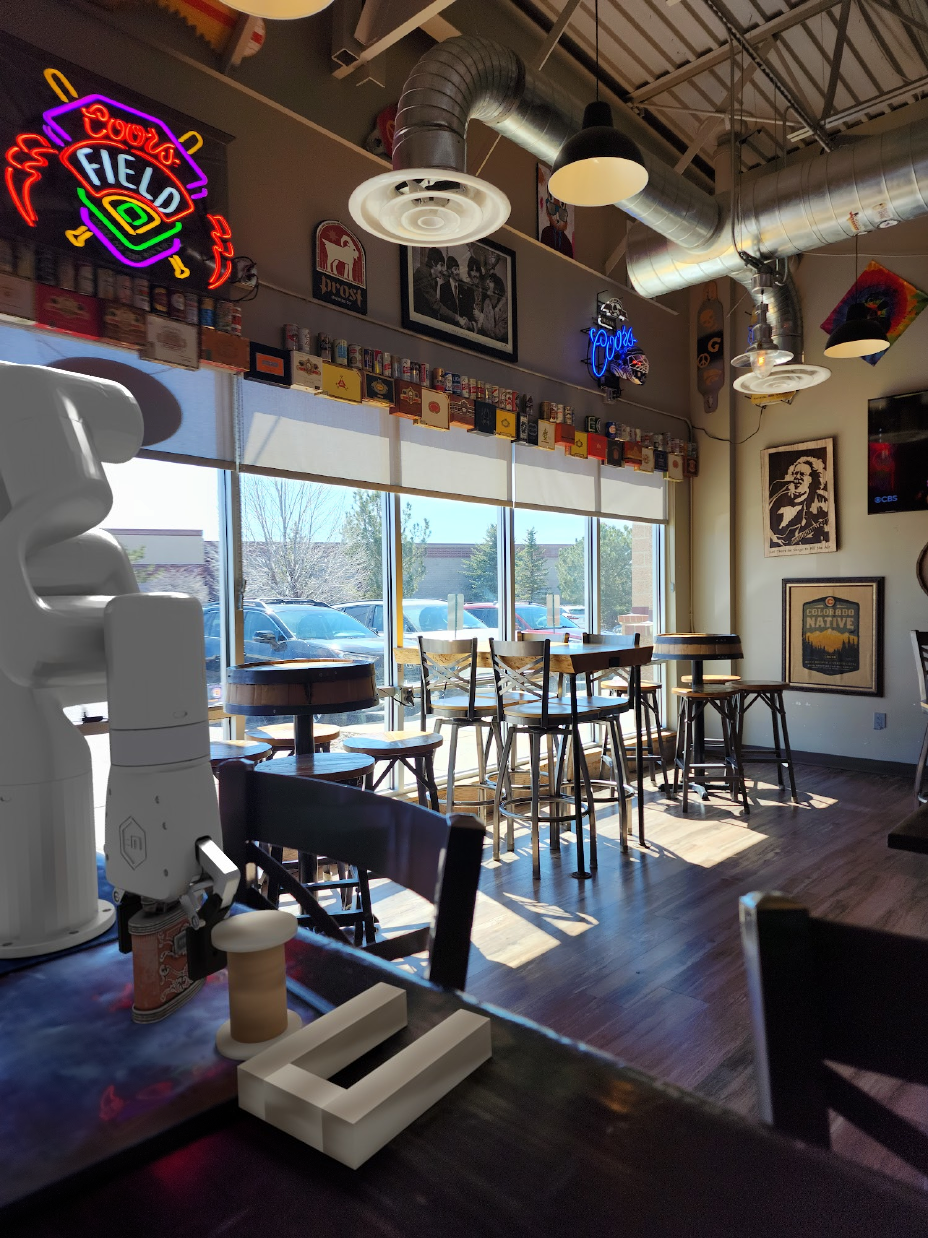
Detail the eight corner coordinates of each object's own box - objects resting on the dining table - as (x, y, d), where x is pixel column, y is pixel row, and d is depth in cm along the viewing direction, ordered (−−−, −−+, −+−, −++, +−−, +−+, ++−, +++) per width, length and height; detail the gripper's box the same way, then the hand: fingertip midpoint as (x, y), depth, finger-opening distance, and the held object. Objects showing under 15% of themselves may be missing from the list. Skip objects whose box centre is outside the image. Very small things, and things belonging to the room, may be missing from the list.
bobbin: (198, 1043, 56) (193, 932, 56) (266, 1007, 61) (261, 904, 61) (252, 1070, 52) (247, 950, 52) (319, 1029, 57) (314, 920, 57)
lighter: (161, 1025, 59) (155, 892, 59) (121, 1022, 60) (115, 890, 59) (216, 975, 67) (211, 858, 67) (180, 973, 67) (175, 857, 67)
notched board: (238, 1107, 48) (237, 1066, 48) (382, 1015, 59) (380, 982, 59) (355, 1170, 42) (353, 1124, 42) (491, 1055, 53) (490, 1018, 53)
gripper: (60, 748, 65) (71, 954, 65) (182, 762, 55) (195, 1008, 55) (144, 734, 71) (153, 924, 71) (268, 745, 61) (279, 966, 61)
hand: (171, 960), depth 63 cm, fingers open, 9 cm apart
